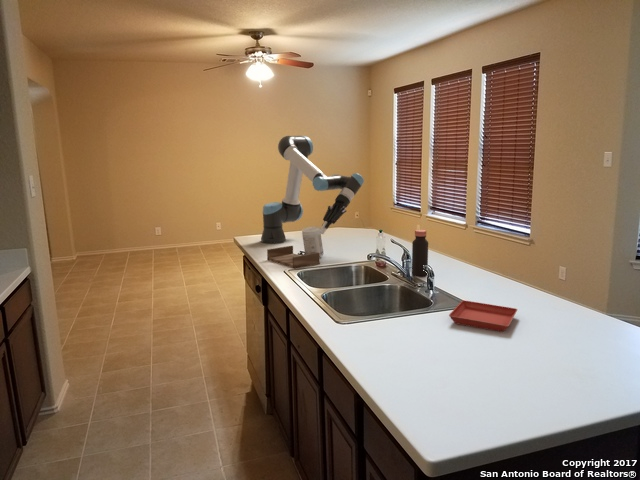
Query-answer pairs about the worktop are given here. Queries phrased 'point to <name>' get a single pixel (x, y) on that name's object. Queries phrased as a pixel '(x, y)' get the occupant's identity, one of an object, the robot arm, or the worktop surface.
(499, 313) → the plant saucer
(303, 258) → the walnut tray
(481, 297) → the worktop surface
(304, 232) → the supplement tub
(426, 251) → the bottle
